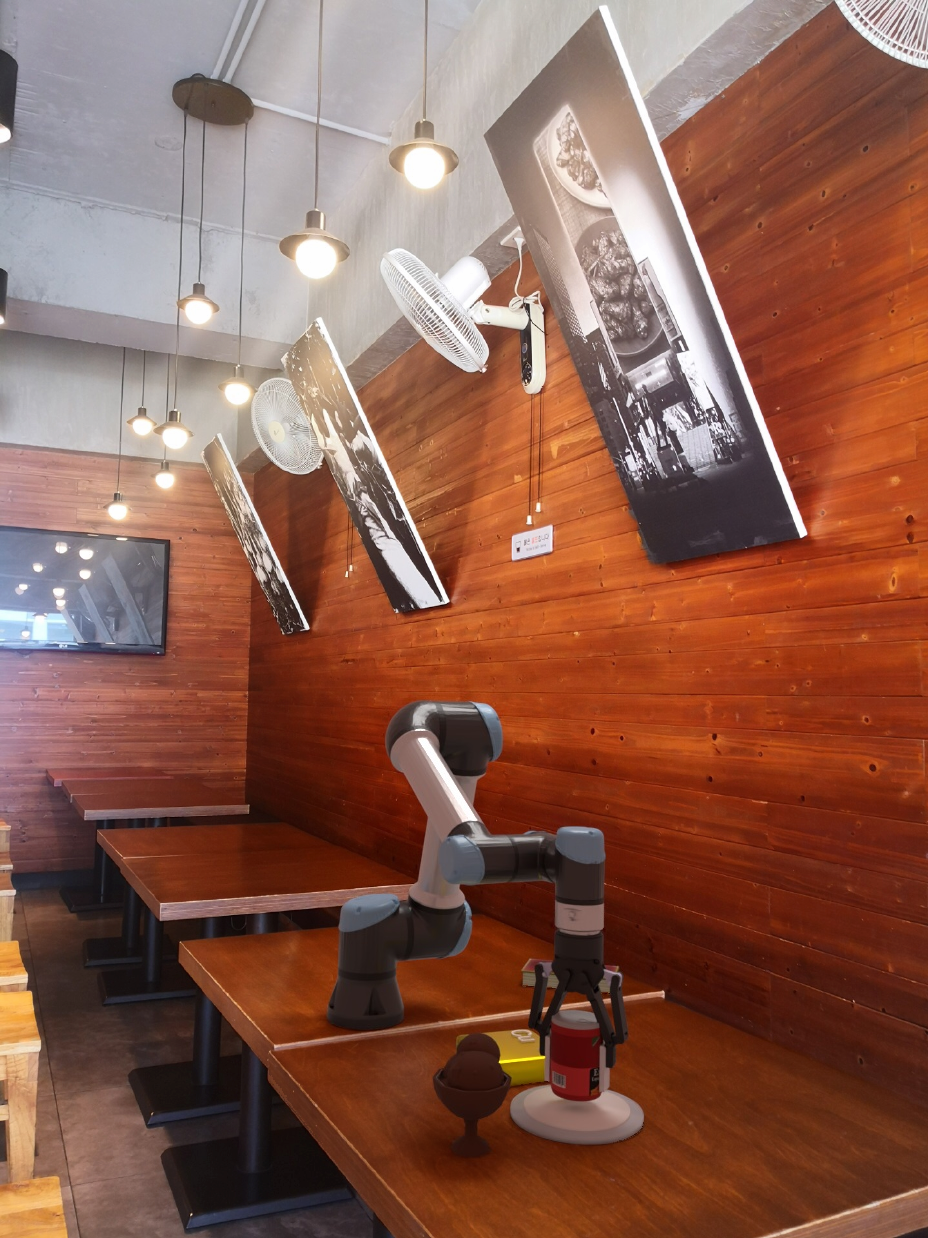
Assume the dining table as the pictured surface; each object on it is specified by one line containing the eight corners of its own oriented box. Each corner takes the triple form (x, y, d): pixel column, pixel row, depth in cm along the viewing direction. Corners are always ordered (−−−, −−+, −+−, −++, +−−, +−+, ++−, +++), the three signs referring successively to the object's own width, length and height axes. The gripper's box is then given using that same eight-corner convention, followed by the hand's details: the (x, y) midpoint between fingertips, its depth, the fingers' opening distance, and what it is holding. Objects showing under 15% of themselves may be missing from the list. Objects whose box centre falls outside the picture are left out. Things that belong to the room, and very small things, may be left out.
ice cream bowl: (428, 1132, 138) (431, 1024, 139) (505, 1132, 139) (507, 1024, 140) (432, 1166, 127) (435, 1048, 129) (515, 1166, 128) (517, 1049, 130)
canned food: (601, 1105, 141) (602, 1027, 142) (547, 1099, 142) (548, 1022, 144) (604, 1086, 148) (605, 1012, 149) (552, 1080, 150) (554, 1007, 151)
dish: (489, 1126, 140) (489, 1116, 140) (537, 1082, 158) (538, 1072, 158) (622, 1156, 132) (623, 1144, 132) (657, 1105, 150) (657, 1095, 150)
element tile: (451, 1060, 169) (452, 1032, 169) (529, 1052, 174) (530, 1025, 174) (483, 1092, 155) (484, 1061, 155) (567, 1082, 160) (567, 1052, 160)
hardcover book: (529, 975, 228) (529, 957, 228) (618, 983, 223) (619, 965, 223) (520, 988, 216) (521, 969, 216) (614, 997, 211) (614, 977, 211)
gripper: (507, 926, 149) (504, 1079, 147) (639, 942, 140) (637, 1105, 138) (525, 918, 156) (522, 1064, 153) (651, 933, 147) (650, 1088, 145)
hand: (576, 1083), depth 146 cm, fingers closed on canned food, 8 cm apart
